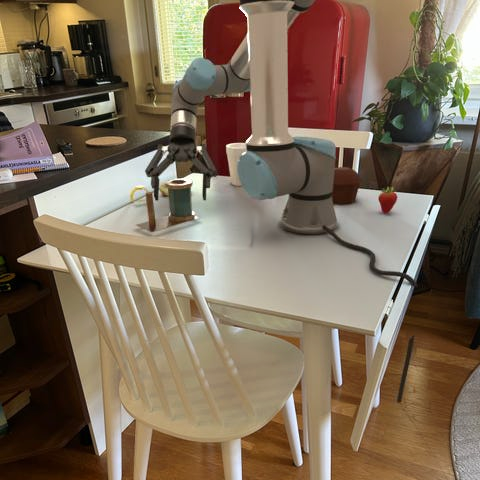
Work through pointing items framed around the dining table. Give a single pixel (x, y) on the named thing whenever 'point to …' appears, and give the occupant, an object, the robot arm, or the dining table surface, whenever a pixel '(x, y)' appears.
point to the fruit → (387, 199)
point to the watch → (135, 190)
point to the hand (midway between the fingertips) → (180, 198)
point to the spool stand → (156, 223)
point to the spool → (180, 199)
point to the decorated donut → (164, 190)
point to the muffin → (345, 185)
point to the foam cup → (234, 160)
